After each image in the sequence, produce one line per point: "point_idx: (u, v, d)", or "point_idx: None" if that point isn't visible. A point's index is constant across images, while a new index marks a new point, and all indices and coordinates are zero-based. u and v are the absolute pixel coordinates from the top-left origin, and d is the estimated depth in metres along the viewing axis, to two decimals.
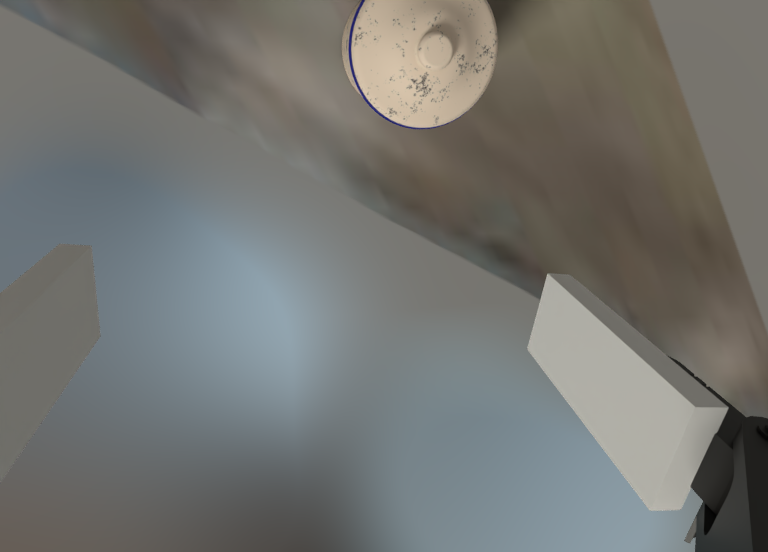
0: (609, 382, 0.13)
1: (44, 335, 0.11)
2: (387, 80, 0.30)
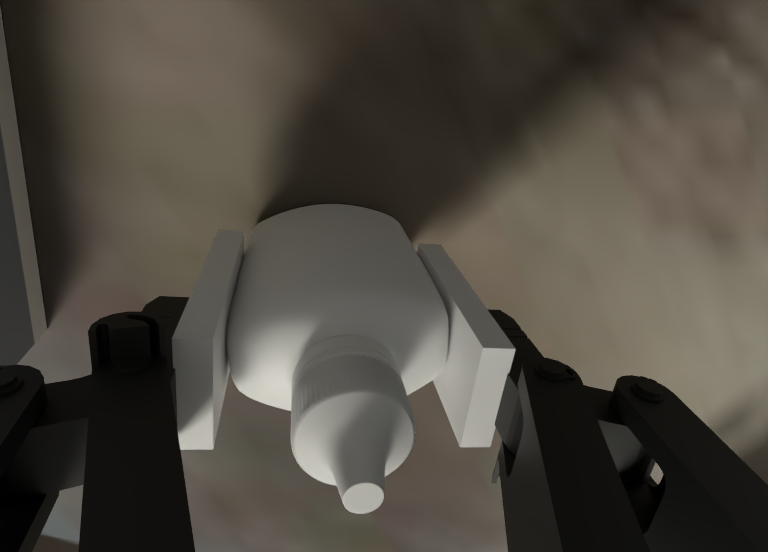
0: None
1: None
2: None
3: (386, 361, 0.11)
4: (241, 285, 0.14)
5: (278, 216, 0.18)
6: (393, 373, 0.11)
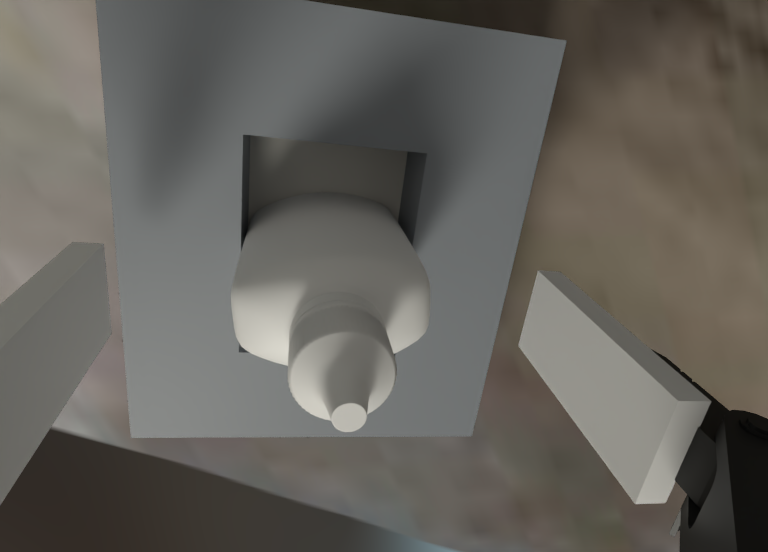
0: (596, 377, 0.13)
1: (60, 331, 0.11)
2: None
3: (372, 313, 0.12)
4: (245, 255, 0.15)
5: (279, 202, 0.20)
6: (378, 323, 0.12)
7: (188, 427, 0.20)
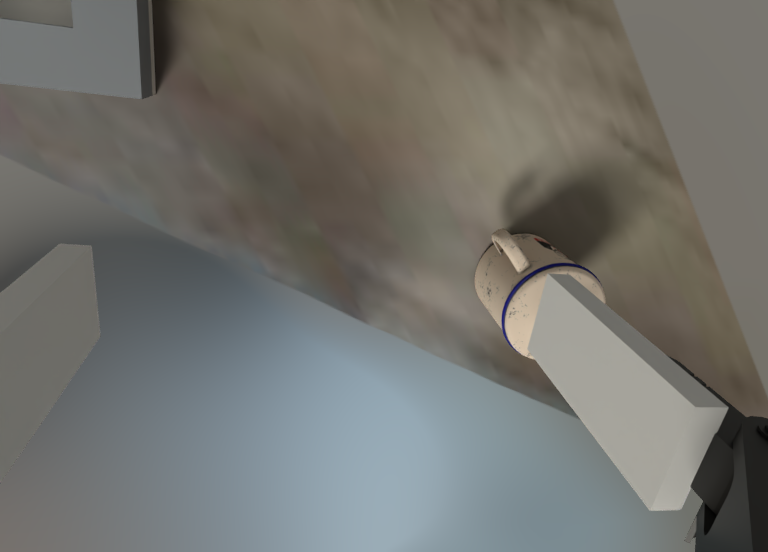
0: (609, 382, 0.13)
1: (44, 335, 0.11)
2: None
3: None
4: None
5: None
6: None
7: None
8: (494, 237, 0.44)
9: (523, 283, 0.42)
